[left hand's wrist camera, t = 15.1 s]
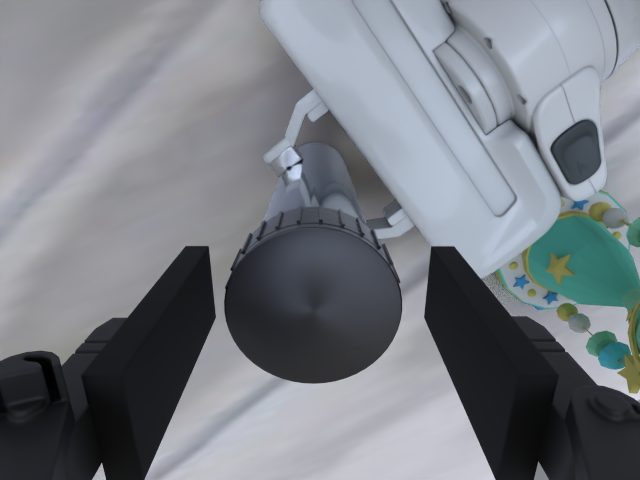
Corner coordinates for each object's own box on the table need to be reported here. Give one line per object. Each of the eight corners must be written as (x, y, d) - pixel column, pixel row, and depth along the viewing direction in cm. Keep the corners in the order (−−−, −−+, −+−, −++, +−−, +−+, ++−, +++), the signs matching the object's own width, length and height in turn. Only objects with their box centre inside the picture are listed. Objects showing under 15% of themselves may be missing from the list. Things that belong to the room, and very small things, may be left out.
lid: (358, 177, 14) (366, 194, 11) (413, 316, 15) (428, 352, 13) (206, 240, 14) (188, 266, 12) (275, 365, 16) (269, 407, 14)
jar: (332, 131, 30) (357, 207, 12) (356, 191, 32) (410, 338, 14) (272, 157, 31) (208, 266, 13) (298, 214, 33) (275, 386, 14)
